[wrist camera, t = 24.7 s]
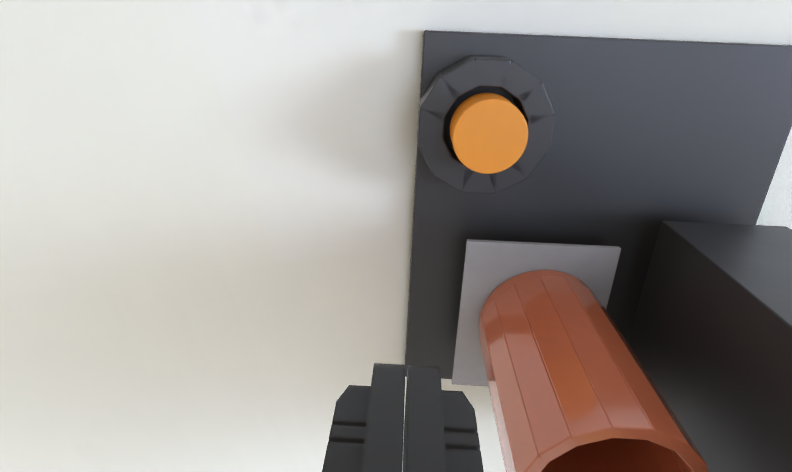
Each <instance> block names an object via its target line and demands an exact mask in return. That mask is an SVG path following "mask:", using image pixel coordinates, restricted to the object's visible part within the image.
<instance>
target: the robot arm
mask: <svg viewBox="0 0 792 472" xmlns="http://www.w3.org/2000/svg"><path fill="white" fill-rule="evenodd" d="M404 396H405V365H398V364H381V363H374V367H373V375H372V384H371V386H355V385H349V386H348V387H347V389H346V390H345V391H344V393H343V394H342V395H341V396H340V398H339V399H338V400H337V402H336V407H335V411H334V416H333V422H332V426H331V431H330V436H329V442H328V446H327V450H326V455H325V460H324V465H323V470H322V472H402V461H403V472H483V465H482V458H481V451H480V445H479V438H478V433H477V424H476V417H475V411H474V408H473V407H472V405H471V404H470V402H469V401H468V399H467V398H466V396H465V395H464V393H463V392H462V391H444V390H441V376H440V367H436V366H418V365H408V372H407V388H406V404H405V420H404ZM403 429H404V443H403Z"/></svg>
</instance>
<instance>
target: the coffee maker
mask: <svg viewBox="0 0 792 472" xmlns="http://www.w3.org/2000/svg"><path fill="white" fill-rule="evenodd" d="M620 252H621V248H620V247H618V246H598V245H577V244H556V243H536V242H515V241H494V240H474V239H467V243H466V253H465V262H464V272H463V281H462V291H461V300H460V309H459V319H458V328H457V338H456V347H455V356H454V366H453V375H452V384H460V385H479V386H489V385H488V380H487V375H486V370H485V365H484V360H483V355H482V350H481V345H480V340H479V328H478V323H479V316H480V312H481V310H482V307H483V305H484V303H485V301H486V300H487V298H488V297H489V296H490V294H491V293H492V292H493V291H494V290H495V289H496V288H497V287H498V286H500V285H501V284H502V283H504V282H505V281H507V280H508V279H510V278H512V277H514V276H517V275H519V274H522V273H526V272H530V271H536V270H554V271H560V272H564V273H567V274H570V275H573V276H574V277H576V278H578V279H580V280H581V281H583V282H584V283H585V284H586V285H587V286H588V287H589V288H590V289H591V290H592V291H593V293H594V294H595V295H596V297H597V298H598V300H599V301H600V302H601V303H602V304H603V306H604V307H605V309H606V308H607V304H608V300H609V296H610V292H611V288H612V284H613V280H614V276H615V272H616V268H617V264H618V260H619V256H620ZM628 344H629V346H630V347H631V349H632V350H633V352H634V353H635V355H636V356H637V358H638V359H639V361H640V362H641V364H642V366H643V367H644V369H645V370H646V372H647V373H648V375H649V376H650V378H651V379H652V381H653V382H654V384H655V385H656V387H657V388H658V390H659V391H660V393H661V395H662V396H663V398H664V399H665V401H666V402H667V404H668V405H669V407H670V408H671V410H672V411H673V413H674V414H675V416H676V417H677V419H678V420H679V422H680V424H681V425H682V427H683V428H684V430H685V431H686V433H687V434H688V436H689V437H690V439H691V440H692V442H693V443H694V445H695V446H696V448H697V450H698V451H699V453H700V454H701V456H702V457H703V459H704V460H705V462H706V464H707V467H708V472H792V230H791V229H789V228H787V227H783V226H762V225H741V224H720V223H699V222H678V221H662V223H661V226H660V230H659V233H658V237H657V240H656V244H655V248H654V251H653V255H652V258H651V262H650V265H649V269H648V273H647V276H646V280H645V283H644V287H643V290H642V294H641V298H640V301H639V305H638V308H637V312H636V315H635V319H634V322H633V326H632V330H631V333H630V337H629V340H628Z"/></svg>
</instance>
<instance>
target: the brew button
mask: <svg viewBox="0 0 792 472" xmlns="http://www.w3.org/2000/svg"><path fill="white" fill-rule="evenodd" d="M450 137H451V141H452V144H453V148H454V151H455V153H456V155H457V157H458V159H459V160H460V161H461V163H462V164H464V165H465V166H466V167H467V168H469V169H471V170H472V171H475V172H478V173H484V174H492V173H497V172H501V171H503V170H506V169H507V168H509V167H511V166H512V165H513V164H514V163H516V162H517V161H518V159H519V158H520V157H521V155H522V154H523V152H524V150H525V148H526V145H527V141H528V126H527V123H526V120H525V118H524V116H523V114H522V113H521V111H520V110H519V109H518V108H517V107H516V106H514V105H513V104H512V103H511V102H510V101H509V100H507V99H506V98H504V97H503V96H501V95H498V94H495V93H479V94H476V95H473V96H471V97H469V98H467V99H466V100H464V101H463V102H462V103H461V104H460V105H459V106H458V107H457V109H456V110H455V112H454V114H453V116H452V118H451V122H450Z"/></svg>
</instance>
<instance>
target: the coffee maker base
mask: <svg viewBox="0 0 792 472" xmlns="http://www.w3.org/2000/svg"><path fill="white" fill-rule="evenodd" d="M479 93H495V94H498V95H501V96H503V97H504V98H506V99H507V100H509V101H510V102H511V103H512V104H513V105H514V106H516V107H517V108H518V109H519V110H520V111H521V113H522V114H523V116H524V118H525V120H526V123H527V126H528V141H527V145H526V148H525V150H524V152H523V154H522V155H521V157H520V158H519V159H518V161H517V162H516V163H514V164H513V165H512V166H511V167H509V168H507V169H506V170H503V171H501V172H497V173H492V174H484V173H478V172H475V171H472V170H471V169H469V168H467V167H466V166H465V165H464V164H462V163H461V161H460V160H459V159H458V157H457V155H456V153H455V151H454V148H453V144H452V141H451V137H450V122H451V118H452V116H453V114H454V112H455V110H456V109H457V107H458V106H459V105H460V104H461V103H462V102H463V101H464V100H466V99H467V98H469V97H471V96H473V95H476V94H479ZM791 126H792V46H790V45H765V44H741V43H717V42H693V41H669V40H645V39H621V38H597V37H573V36H548V35H524V34H500V33H476V32H452V31H428V30H425V31H424V35H423V52H422V70H421V88H420V103H419V110H418V128H417V160H416V178H415V196H414V213H413V231H412V249H411V267H410V285H409V303H408V321H407V339H406V356H405V376H406V377H407V372H408V365H418V366H436V367H440V376H441V378H444V379H452V375H453V366H454V356H455V347H456V338H457V328H458V319H459V309H460V300H461V291H462V281H463V272H464V262H465V253H466V243H467V239H474V240H494V241H515V242H536V243H556V244H577V245H598V246H618V247H620V248H621V252H620V256H619V260H618V264H617V268H616V272H615V276H614V280H613V284H612V288H611V292H610V296H609V300H608V304H607V308H606V311H607V312H608V314H609V315H610V317H611V318H612V320H613V321H614V323H615V324H616V326H617V327H618V329H619V330H620V332H621V333H622V335H623V336H624V338H625V340H626V341H627V343H628V340H629V337H630V333H631V330H632V326H633V322H634V319H635V315H636V312H637V308H638V305H639V301H640V298H641V294H642V290H643V287H644V283H645V280H646V276H647V273H648V269H649V265H650V262H651V258H652V255H653V251H654V248H655V244H656V240H657V237H658V233H659V230H660V226H661V223H662V221H678V222H699V223H720V224H741V225H756V222H757V219H758V216H759V214H760V211H761V208H762V205H763V203H764V200H765V197H766V194H767V192H768V189H769V186H770V184H771V181H772V178H773V175H774V173H775V170H776V167H777V164H778V162H779V159H780V156H781V153H782V151H783V148H784V145H785V143H786V140H787V137H788V134H789V132H790V129H791Z"/></svg>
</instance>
